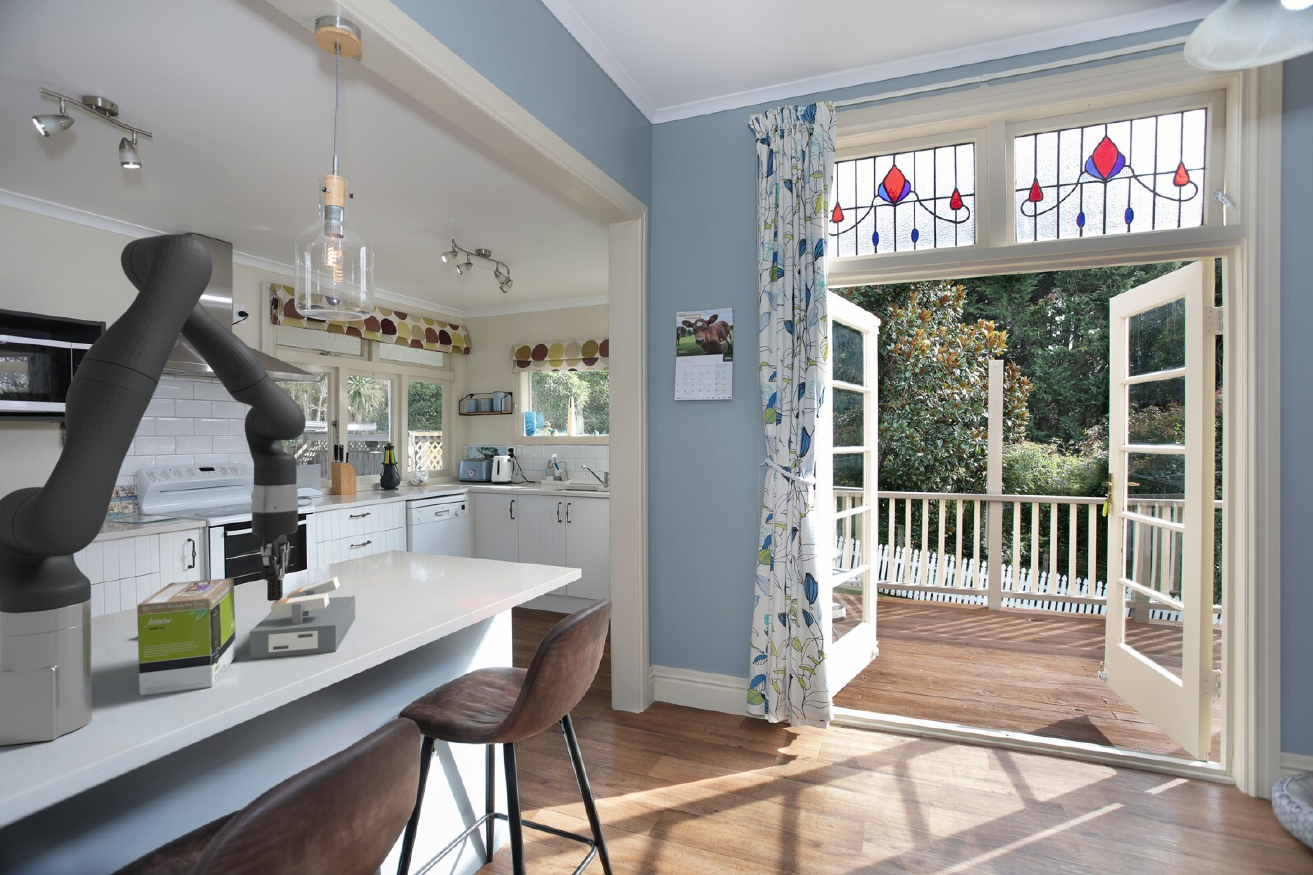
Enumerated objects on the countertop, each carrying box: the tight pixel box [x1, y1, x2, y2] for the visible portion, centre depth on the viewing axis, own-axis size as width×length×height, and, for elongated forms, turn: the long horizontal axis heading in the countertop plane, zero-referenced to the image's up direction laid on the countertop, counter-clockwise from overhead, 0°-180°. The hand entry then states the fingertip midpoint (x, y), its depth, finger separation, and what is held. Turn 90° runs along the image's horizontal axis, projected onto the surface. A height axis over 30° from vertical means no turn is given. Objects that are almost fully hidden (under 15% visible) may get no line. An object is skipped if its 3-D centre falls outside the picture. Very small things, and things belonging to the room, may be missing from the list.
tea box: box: [136, 577, 237, 697], centre depth 108 cm, size 15×10×15 cm, turn 21°
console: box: [249, 582, 356, 660], centre depth 128 cm, size 22×14×9 cm, turn 17°
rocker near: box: [270, 592, 330, 616], centre depth 123 cm, size 5×9×2 cm, turn 107°
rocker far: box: [286, 575, 341, 598], centre depth 133 cm, size 5×9×2 cm, turn 107°
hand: (275, 599), depth 121 cm, fingers closed
